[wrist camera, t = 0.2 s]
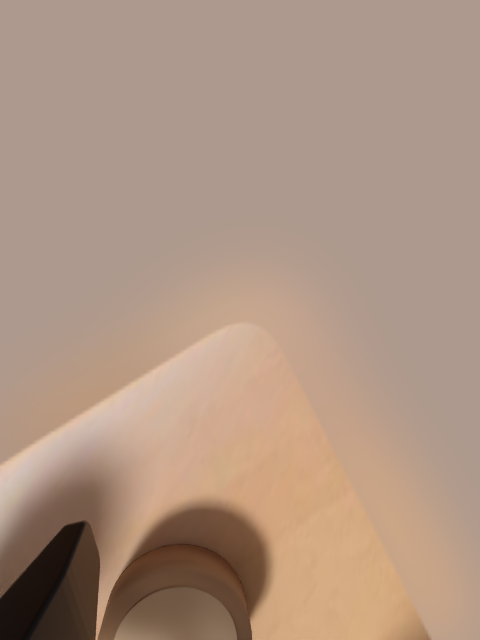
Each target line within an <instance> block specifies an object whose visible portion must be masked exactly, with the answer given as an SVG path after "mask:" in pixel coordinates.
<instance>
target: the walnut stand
mask: <svg viewBox="0 0 480 640" xmlns="http://www.w3.org/2000/svg"><path fill="white" fill-rule="evenodd" d="M98 640H252V631H251V625H250V620H249V615H248V610H247V605H246V600H245V595H244V590H243V587H242V584H241V582H240V580H239V578H238V576H237V574H236V572H235V571H234V569H233V568H232V567H231V566H230V565H229V564H228V562H227V561H225V560H224V559H223V558H222V557H221V556H219V555H218V554H216V553H214V552H213V551H210V550H208V549H206V548H203V547H199V546H195V545H188V544H176V545H168V546H164V547H160V548H158V549H155V550H152V551H150V552H148V553H146V554H144V555H143V556H141V557H140V558H138V559H137V560H135V561H134V562H133V563H132V564H131V565H130V566H129V567H128V568H127V569H126V570H125V571H124V572H123V573H122V574H121V576H120V577H119V579H118V580H117V582H116V583H115V585H114V587H113V589H112V591H111V594H110V597H109V600H108V604H107V607H106V611H105V614H104V618H103V622H102V625H101V629H100V632H99V637H98Z"/></svg>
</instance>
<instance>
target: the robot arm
mask: <svg viewBox="0 0 480 640" xmlns="http://www.w3.org/2000/svg"><path fill="white" fill-rule="evenodd" d="M99 572H100V558H99V552H98V549H97V546H96V543H95V539H94V536H93V533H92V530H91V527H90V524H89V523H88V522H87V521H79V522H75V523H71V524H68V525H65V526H64V527H63V528H62V529H61V530H60V531H59V532H58V534H57V535H56V536H55V537H54V538H53V539H52V540H51V541H50V543H49V544H48V545H47V546H46V547H45V548H44V549H43V551H42V552H41V553H40V554H39V555H38V556H37V557H36V558H35V560H34V561H33V562H32V563H31V564H30V565H29V566H28V567H27V569H26V570H25V571H24V572H23V573H22V574H21V575H20V576H19V578H18V579H17V580H16V581H15V582H14V583H13V584H12V585H11V587H10V588H9V589H8V590H7V591H6V592H5V593H4V595H3V596H2V597H1V598H0V640H95V636H96V620H97V604H98V588H99Z"/></svg>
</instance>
